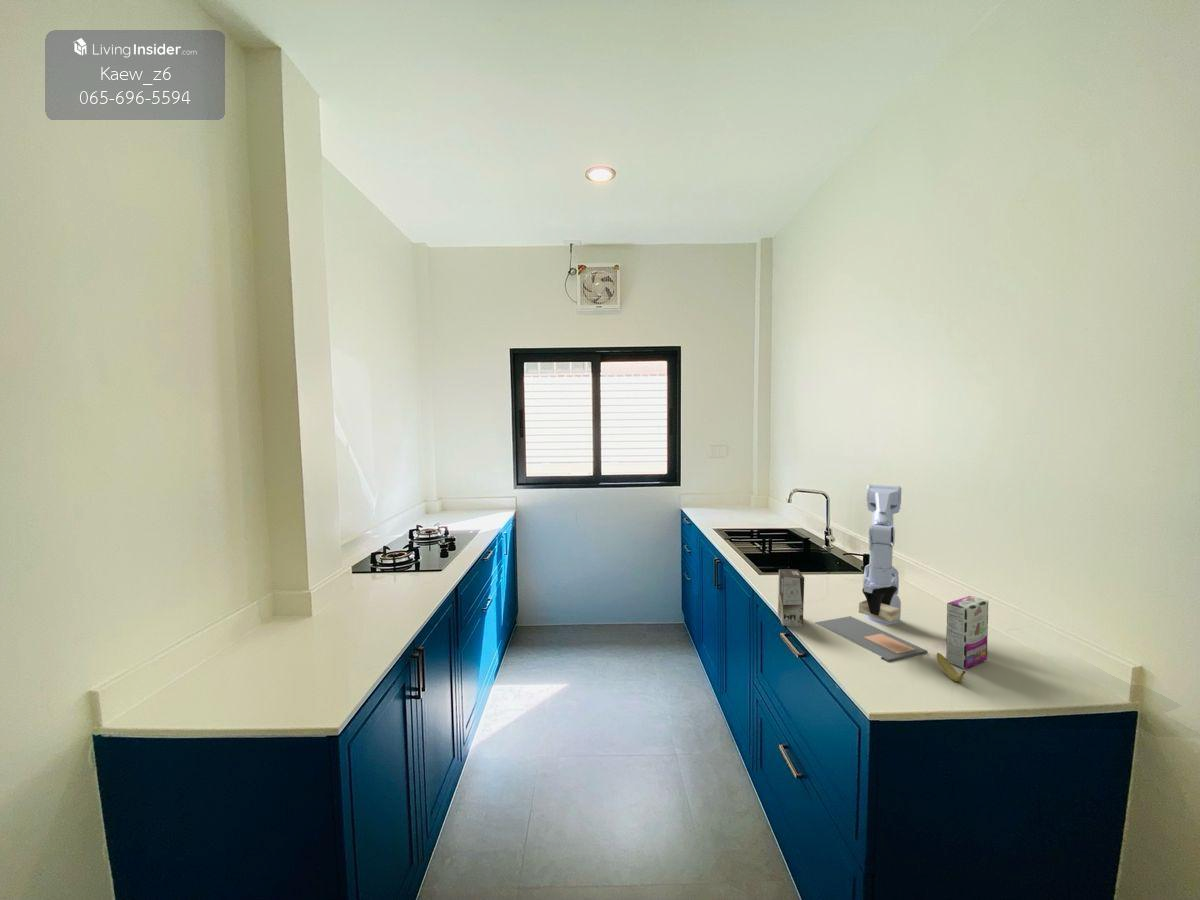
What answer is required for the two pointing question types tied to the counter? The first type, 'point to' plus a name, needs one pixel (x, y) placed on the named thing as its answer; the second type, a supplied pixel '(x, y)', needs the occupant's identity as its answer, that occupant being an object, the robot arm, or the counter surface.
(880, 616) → the card box
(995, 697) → the counter surface
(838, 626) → the mat
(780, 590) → the coffee box
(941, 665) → the banana
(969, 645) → the candy bar box
